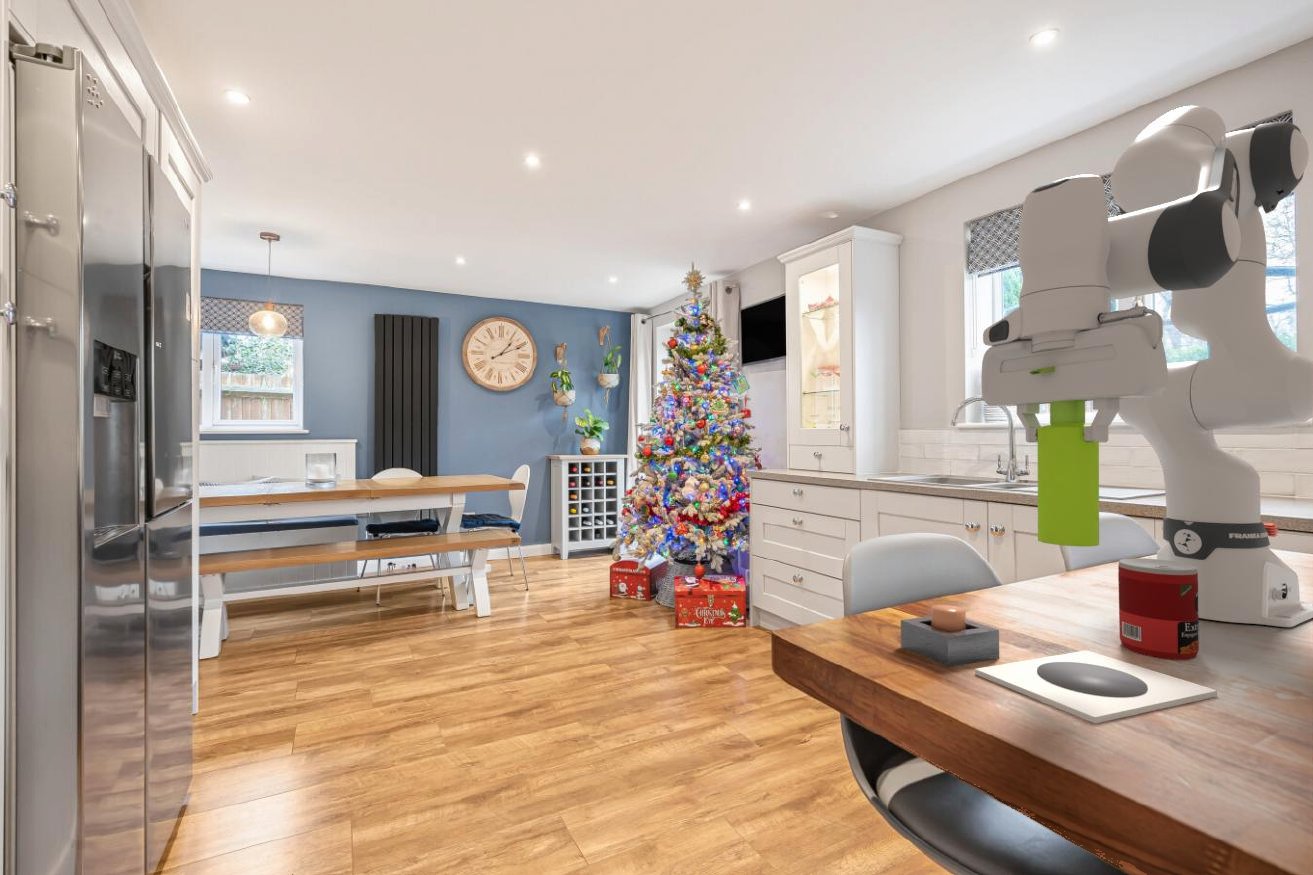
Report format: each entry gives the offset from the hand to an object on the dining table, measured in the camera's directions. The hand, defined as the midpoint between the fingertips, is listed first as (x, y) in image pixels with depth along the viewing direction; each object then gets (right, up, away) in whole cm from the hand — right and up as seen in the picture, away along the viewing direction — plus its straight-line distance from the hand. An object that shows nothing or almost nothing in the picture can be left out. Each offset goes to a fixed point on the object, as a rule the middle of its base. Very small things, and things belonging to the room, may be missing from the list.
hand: (1064, 442), depth 73 cm
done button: (-9, -24, +8) cm, 27 cm away
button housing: (-9, -27, +8) cm, 29 cm away
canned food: (+17, -27, +8) cm, 33 cm away
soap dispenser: (0, -12, 0) cm, 12 cm away
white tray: (+1, -26, -3) cm, 27 cm away
